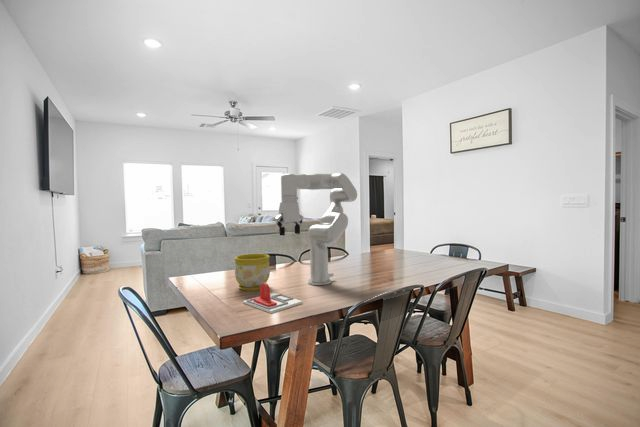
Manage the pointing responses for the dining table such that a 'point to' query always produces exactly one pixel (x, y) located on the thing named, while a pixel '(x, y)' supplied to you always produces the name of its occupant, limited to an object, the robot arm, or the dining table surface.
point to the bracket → (265, 296)
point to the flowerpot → (252, 270)
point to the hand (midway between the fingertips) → (289, 234)
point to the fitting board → (280, 299)
